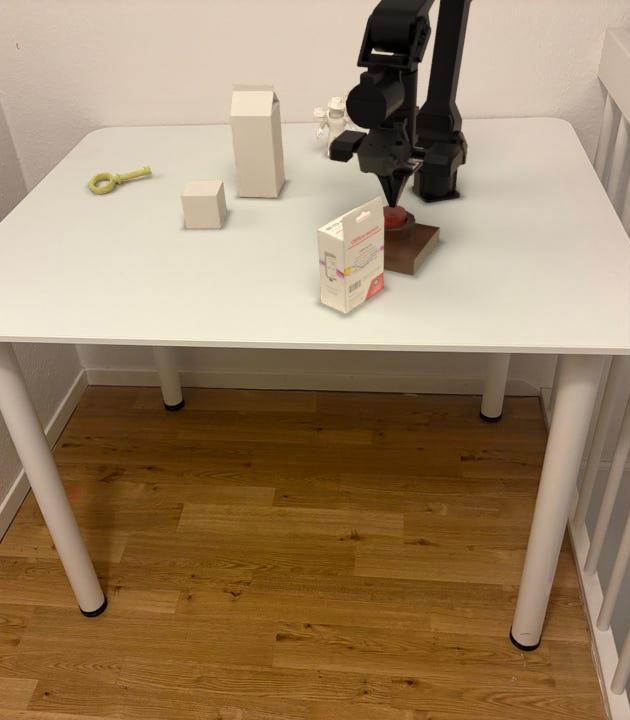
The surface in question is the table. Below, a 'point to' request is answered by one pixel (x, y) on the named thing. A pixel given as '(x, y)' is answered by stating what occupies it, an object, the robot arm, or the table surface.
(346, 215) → the ink cartridge box
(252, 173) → the milk carton
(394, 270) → the switch box
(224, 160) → the table surface
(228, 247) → the table surface
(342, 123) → the blocky character figurine
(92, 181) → the key
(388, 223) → the switch button
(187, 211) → the cream cube
